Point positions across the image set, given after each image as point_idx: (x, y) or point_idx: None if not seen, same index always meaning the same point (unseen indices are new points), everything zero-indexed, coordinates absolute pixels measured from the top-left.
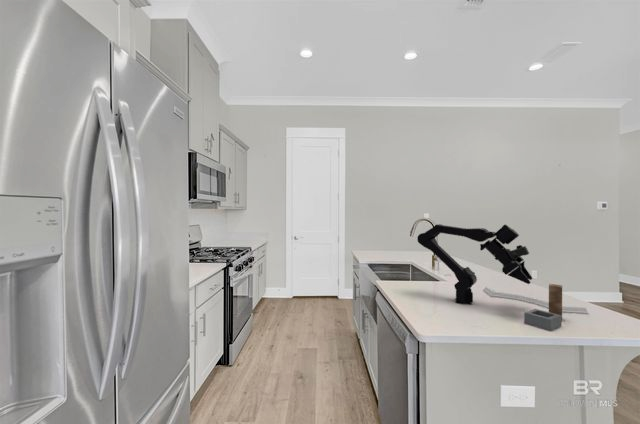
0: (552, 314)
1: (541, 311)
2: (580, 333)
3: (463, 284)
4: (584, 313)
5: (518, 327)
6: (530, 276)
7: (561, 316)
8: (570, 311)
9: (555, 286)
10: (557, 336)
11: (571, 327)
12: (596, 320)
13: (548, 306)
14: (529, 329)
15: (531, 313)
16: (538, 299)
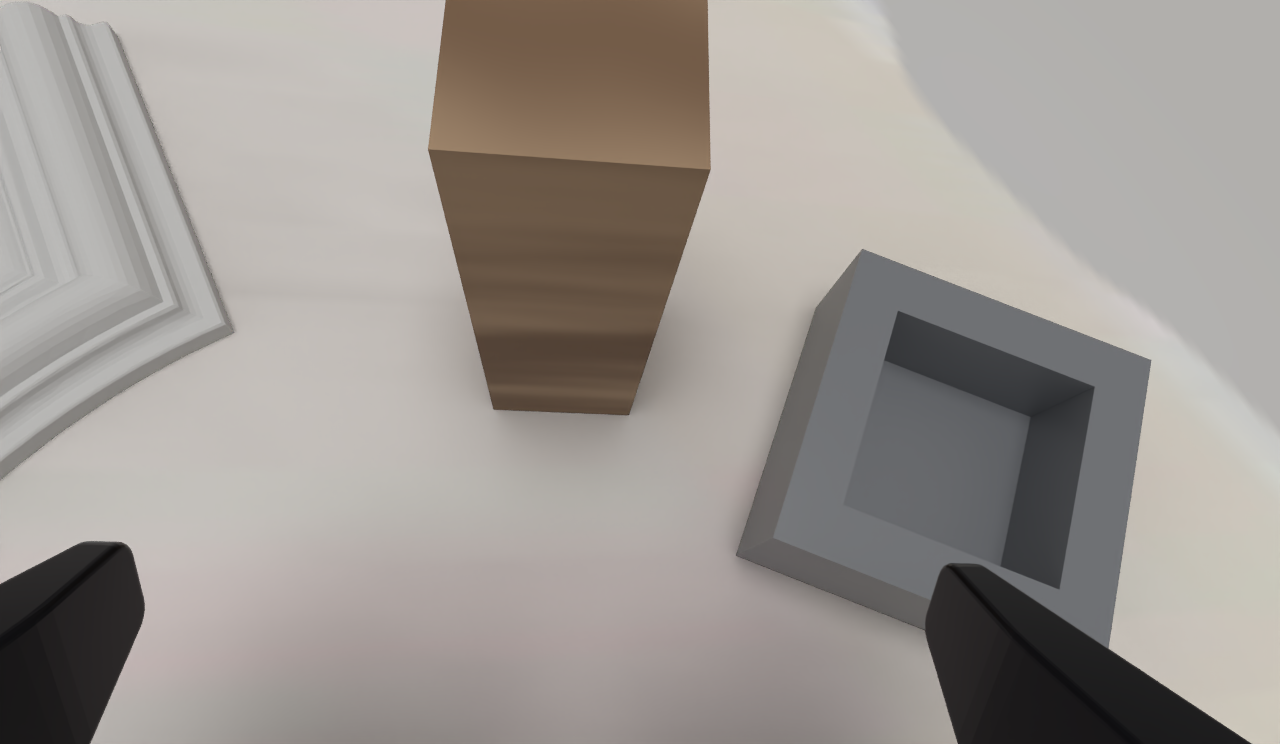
0: (887, 338)
1: (855, 457)
2: (912, 180)
3: None
4: (125, 63)
5: (1218, 710)
6: (74, 607)
7: (856, 256)
8: (161, 177)
9: (704, 55)
10: (1165, 354)
11: (778, 229)
12: (344, 9)
13: (35, 402)
14: (1183, 594)
15: (1071, 573)
16: None
